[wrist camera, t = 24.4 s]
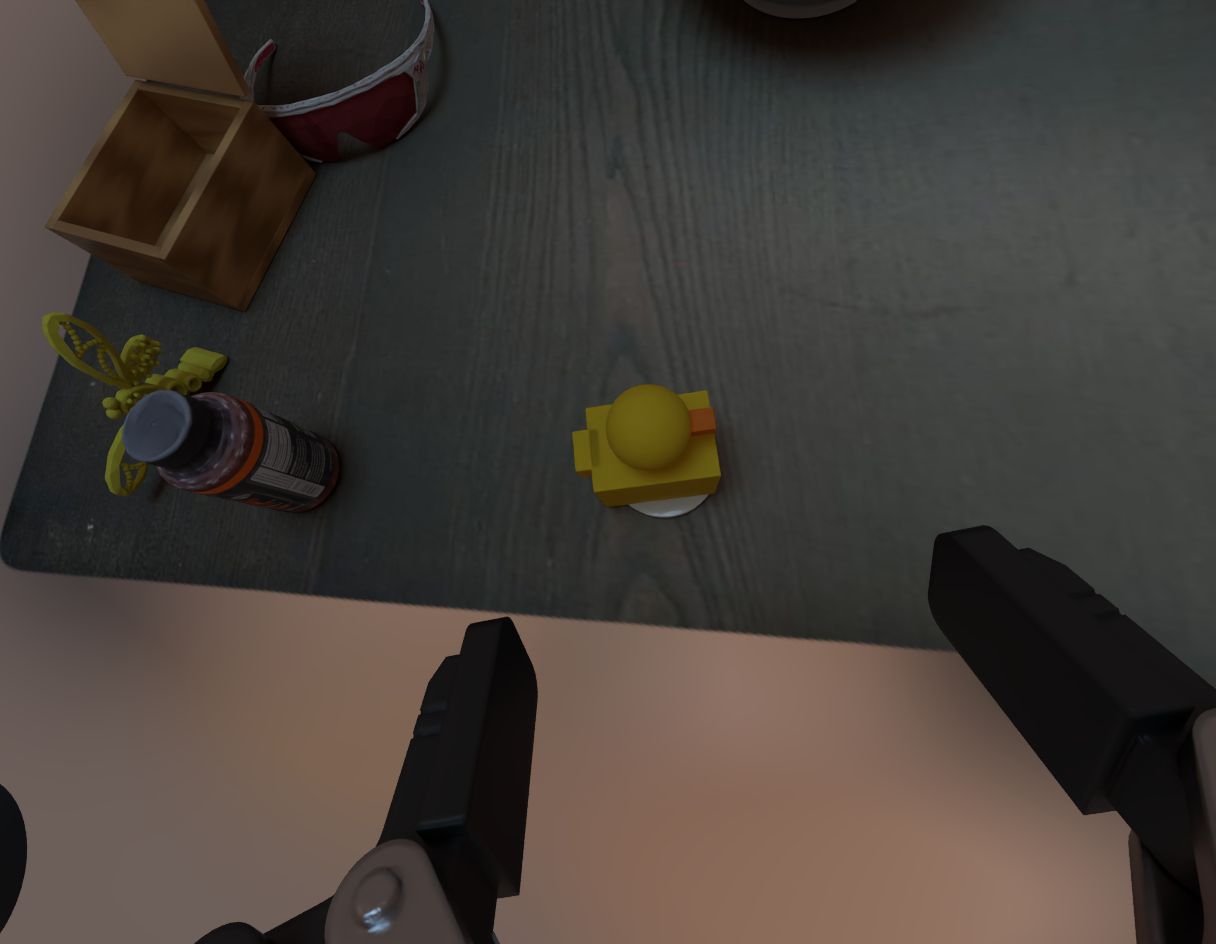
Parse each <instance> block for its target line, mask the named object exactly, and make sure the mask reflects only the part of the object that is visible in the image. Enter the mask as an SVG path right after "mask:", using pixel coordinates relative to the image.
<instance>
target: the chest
mask: <svg viewBox="0 0 1216 944" xmlns="http://www.w3.org/2000/svg"><path fill="white" fill-rule="evenodd" d="M315 176H316V173H315V172H314V171H313V169H312V168H311V167H310V166H309V165H308V163H307V162H306V161H305V160H304V159H303V158H302V157H301V155H300V154H299V153H298V152H297V151H296V150H295V148H294V147H293V146H292V145H291V144H290V143H289V141H288V140H287V139H286V138H285V137H284V136H283V135H282V133H281V132H280V131H279V130H278V129H277V128H276V126H275V125H274V124H273V123H272V122H271V121H270V120H269V118H268V117H267V116H266V115H265V114H264V113H263V111H262V110H261V109H260V108H259V107H258V106H257V105H256V103H255V102H254V101H251V100H244V99H239V98H234V97H228V96H223V95H217V94H212V93H206V92H201V91H195V90H190V89H184V88H178V87H173V86H167V85H162V84H156V83H151V82H145V81H140V80H135V81H134V83H133V84H132V86H131V88H130V89H129V91H128V92H127V94H126V96H125V97H124V99H123V100H122V102H121V104H120V105H119V107H118V109H117V111H116V112H115V113H114V115H113V117H112V118H111V120H110V121H109V123H108V125H107V126H106V128H105V130H104V131H103V133H102V135H101V136H100V138H99V139H98V141H97V143H96V144H95V146H94V147H93V149H92V151H91V152H90V154H89V155H88V157H87V159H86V160H85V162H84V164H83V165H82V167H81V168H80V170H79V172H78V173H77V175H76V177H75V178H74V180H73V181H72V183H71V185H70V186H69V188H68V189H67V191H66V193H65V194H64V196H63V198H62V199H61V201H60V202H59V204H58V206H57V207H56V209H55V211H54V212H53V214H52V215H51V217H50V219H49V220H48V222H47V224H46V225H45V227H46V228H47V229H49V230H50V231H52V232H54V233H56V234H57V235H59V236H61V237H63V238H64V239H66V240H68V241H69V242H71V243H73V244H75V245H77V246H78V247H80V248H82V249H83V250H85V251H87V252H89V253H90V254H92V255H94V256H95V257H97V258H99V259H101V260H102V261H104V262H106V263H107V264H109V265H111V266H113V267H114V268H116V269H118V270H120V271H121V272H123V273H125V274H126V275H128V276H130V277H132V278H134V279H135V280H137V281H139V282H143V283H146V284H150V285H153V286H157V287H160V288H164V289H167V290H171V291H174V292H178V293H181V294H184V295H188V296H191V297H195V298H198V299H202V300H205V301H209V302H212V303H216V304H219V305H223V306H226V307H230V308H233V309H237V310H240V311H244V312H245V311H246V309H247V307H248V305H249V303H250V301H251V299H252V298H253V296H254V294H255V292H256V290H257V288H258V286H259V284H260V282H261V280H262V278H263V276H264V274H265V272H266V271H267V269H268V267H269V265H270V263H271V261H272V259H273V257H274V255H275V253H276V251H277V249H278V247H279V245H280V243H281V242H282V240H283V238H284V236H285V234H286V232H287V230H288V228H289V226H290V224H291V222H292V220H293V218H294V216H295V215H296V213H297V211H298V209H299V207H300V205H301V203H302V201H303V199H304V197H305V195H306V193H307V191H308V189H309V187H310V186H311V184H312V182H313V180H314V178H315Z"/></svg>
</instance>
